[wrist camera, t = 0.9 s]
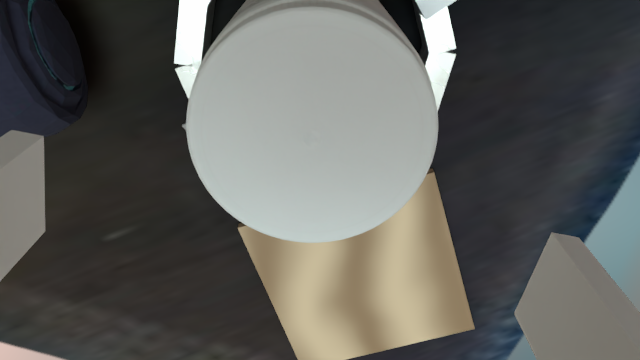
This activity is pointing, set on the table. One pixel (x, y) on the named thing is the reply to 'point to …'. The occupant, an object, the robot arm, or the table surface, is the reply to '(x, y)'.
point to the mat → (367, 283)
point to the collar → (428, 13)
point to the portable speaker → (39, 69)
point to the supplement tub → (312, 118)
